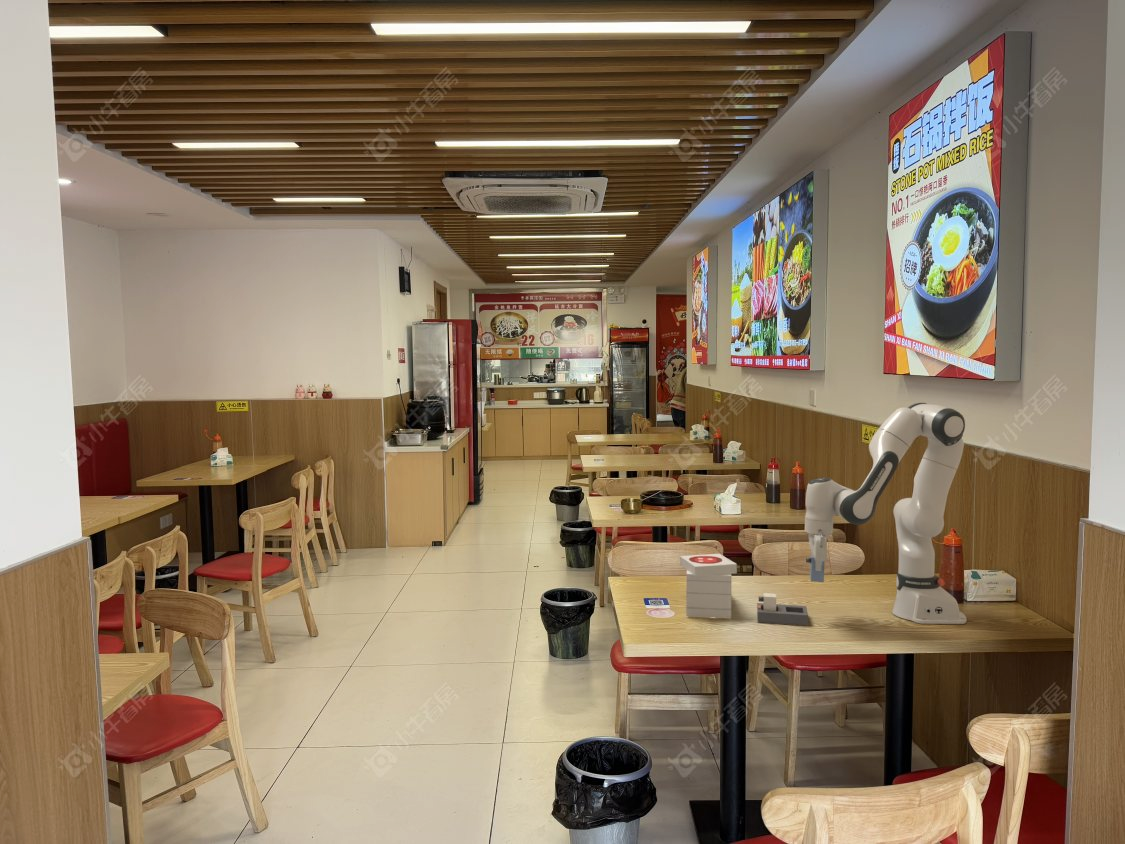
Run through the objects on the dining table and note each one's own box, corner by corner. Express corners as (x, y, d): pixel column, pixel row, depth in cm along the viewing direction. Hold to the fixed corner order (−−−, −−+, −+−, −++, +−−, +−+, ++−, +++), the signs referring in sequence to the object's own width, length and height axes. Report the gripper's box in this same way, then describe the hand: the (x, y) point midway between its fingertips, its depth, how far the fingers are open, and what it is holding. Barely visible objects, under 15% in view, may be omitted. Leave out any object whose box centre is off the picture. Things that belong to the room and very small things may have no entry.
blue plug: (822, 578, 255) (823, 555, 255) (823, 582, 251) (824, 558, 251) (804, 577, 257) (805, 554, 256) (805, 581, 253) (806, 557, 252)
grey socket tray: (805, 616, 260) (806, 604, 260) (808, 625, 250) (808, 614, 250) (757, 612, 264) (757, 601, 263) (757, 622, 254) (757, 610, 254)
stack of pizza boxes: (732, 595, 285) (733, 547, 283) (737, 621, 255) (737, 568, 254) (680, 592, 288) (680, 545, 287) (679, 618, 258) (679, 566, 257)
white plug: (775, 617, 259) (775, 593, 259) (776, 620, 256) (776, 597, 255) (758, 615, 261) (758, 592, 260) (758, 619, 257) (758, 596, 256)
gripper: (832, 534, 242) (830, 577, 243) (825, 521, 262) (824, 561, 263) (811, 533, 243) (810, 576, 244) (806, 520, 263) (804, 560, 264)
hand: (817, 568), depth 253 cm, fingers closed on blue plug, 4 cm apart
